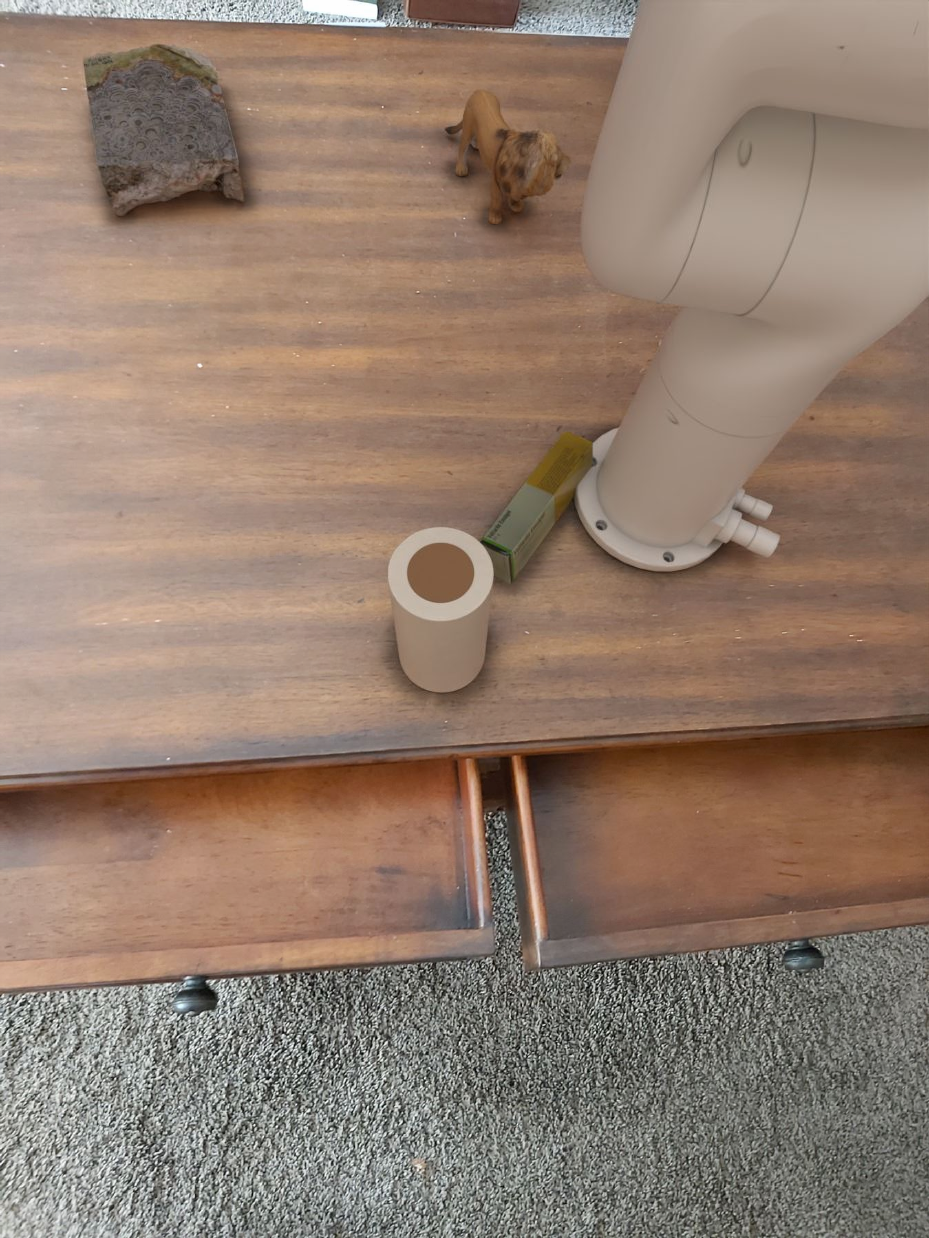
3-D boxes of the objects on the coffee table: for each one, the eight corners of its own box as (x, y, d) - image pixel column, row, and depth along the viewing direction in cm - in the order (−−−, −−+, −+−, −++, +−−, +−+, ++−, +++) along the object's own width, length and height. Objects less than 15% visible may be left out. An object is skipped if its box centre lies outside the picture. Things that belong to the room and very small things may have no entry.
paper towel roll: (498, 633, 59) (510, 550, 47) (462, 707, 56) (466, 637, 45) (422, 600, 59) (416, 511, 48) (383, 671, 57) (368, 594, 46)
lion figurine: (561, 232, 74) (586, 141, 66) (513, 254, 72) (533, 164, 64) (467, 126, 77) (479, 27, 69) (419, 144, 76) (426, 46, 68)
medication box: (512, 588, 61) (507, 558, 57) (481, 573, 62) (475, 542, 58) (594, 474, 65) (594, 439, 61) (563, 461, 66) (562, 426, 62)
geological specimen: (98, 177, 64) (73, 34, 68) (121, 236, 70) (96, 101, 74) (239, 160, 66) (206, 22, 70) (250, 219, 71) (219, 88, 76)
